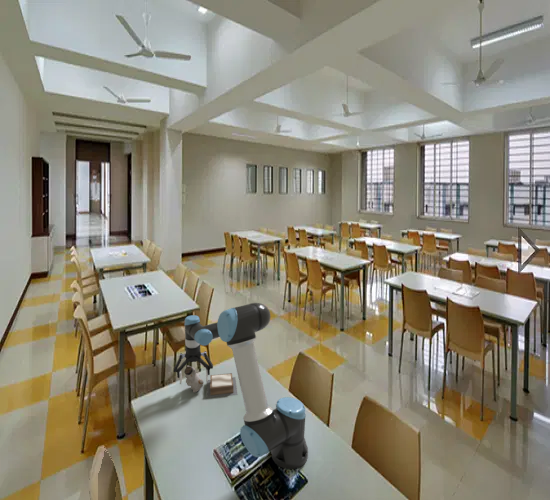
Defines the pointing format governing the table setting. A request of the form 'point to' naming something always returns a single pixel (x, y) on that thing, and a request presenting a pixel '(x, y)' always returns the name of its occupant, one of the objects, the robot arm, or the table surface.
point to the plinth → (221, 384)
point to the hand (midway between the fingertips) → (194, 381)
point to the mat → (222, 394)
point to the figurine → (193, 379)
